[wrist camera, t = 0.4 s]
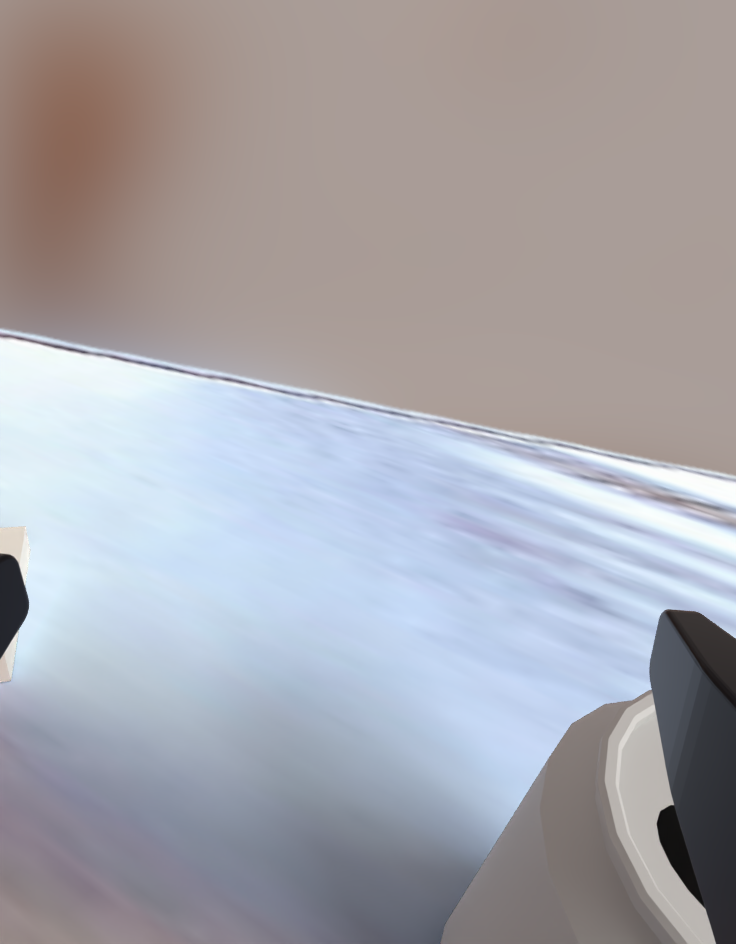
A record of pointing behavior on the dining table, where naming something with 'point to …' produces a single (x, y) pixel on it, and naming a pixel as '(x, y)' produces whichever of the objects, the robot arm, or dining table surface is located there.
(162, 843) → the dining table surface
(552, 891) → the can
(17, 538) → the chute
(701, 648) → the robot arm
